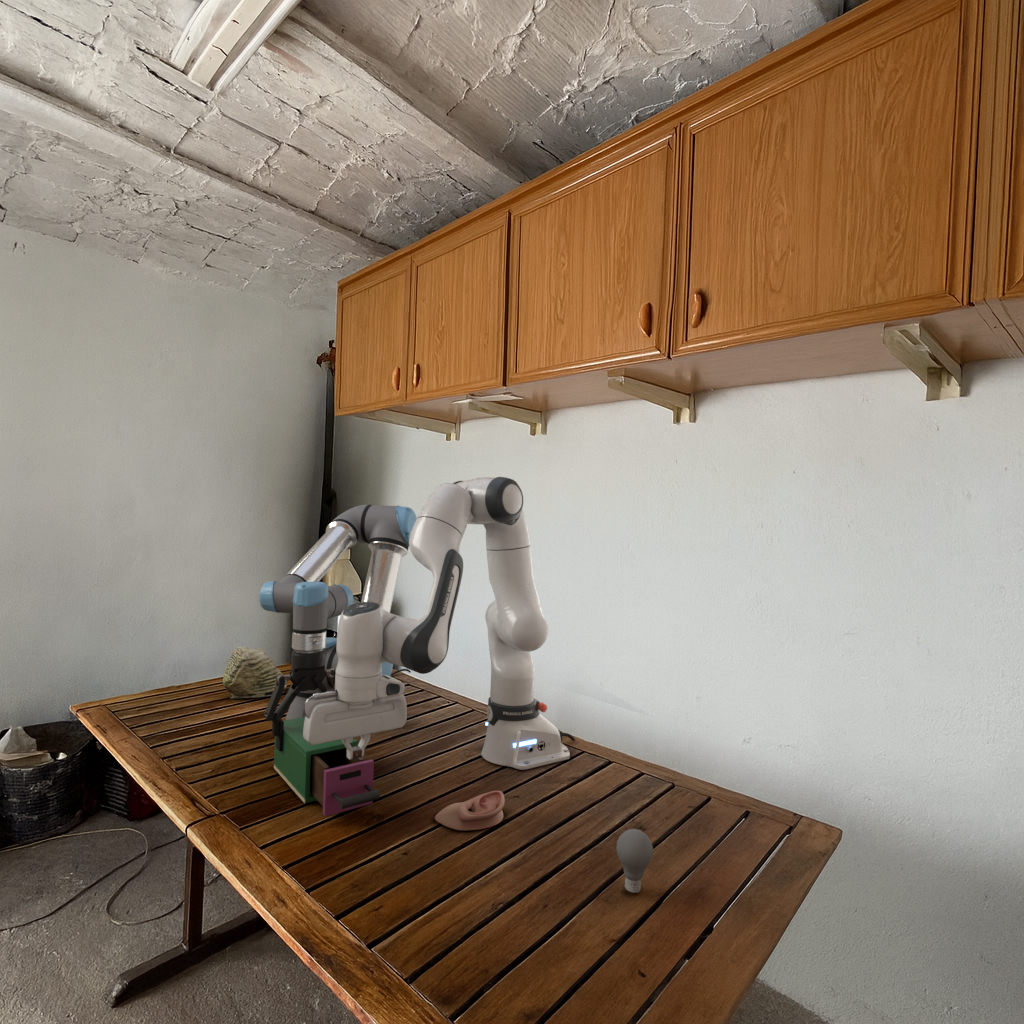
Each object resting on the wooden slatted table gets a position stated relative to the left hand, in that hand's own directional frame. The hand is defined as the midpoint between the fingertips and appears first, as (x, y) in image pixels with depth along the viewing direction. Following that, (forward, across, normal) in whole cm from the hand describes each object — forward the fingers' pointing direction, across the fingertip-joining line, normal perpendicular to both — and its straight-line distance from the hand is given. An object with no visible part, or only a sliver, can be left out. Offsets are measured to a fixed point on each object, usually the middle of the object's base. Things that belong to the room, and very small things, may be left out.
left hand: (305, 744), depth 146 cm
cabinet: (+6, 0, -6) cm, 8 cm away
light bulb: (+6, +30, -74) cm, 80 cm away
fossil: (+6, +5, +61) cm, 62 cm away
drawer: (+5, 0, -19) cm, 19 cm away
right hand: (-7, 0, -28) cm, 29 cm away
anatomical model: (+6, +20, -39) cm, 44 cm away
